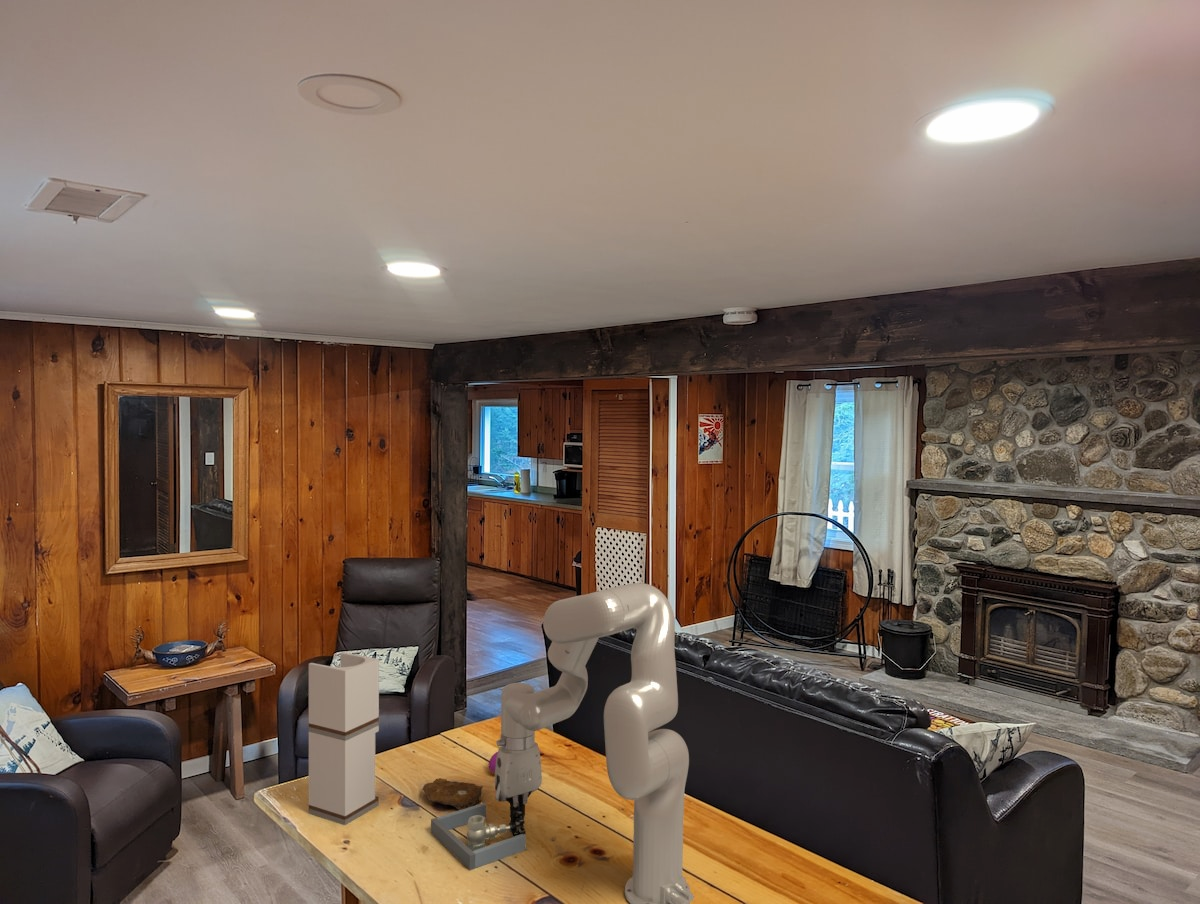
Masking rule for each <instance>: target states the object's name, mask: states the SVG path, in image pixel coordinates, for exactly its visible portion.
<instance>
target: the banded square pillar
mask: <svg viewBox="0 0 1200 904" xmlns="http://www.w3.org/2000/svg"><path fill="white" fill-rule="evenodd" d="M339 663H340V666H339V667H337V666H330V665H326V664H325V665H324V664H320V663H314V662H310V663H308V814H309V815H313V816H315V817H319V818H322V819H325V820H328V821H331V822H333V823H338V824H340V825H344V826H347V825H348V824H349V823H352V822H353V821H355V820H356V819H358V818H359V817H360V818H361V817H362V816H364V815H365V814H366V813H369V811H371V810H373V809H375V808H377V807H378V806H379V801H380V800H379V799H380V797H379V796H376V733H378V732H379V730H380V725H379V724H380V723H379V722H380V718H379V717H380V714H379V713H380V709H379V707H380V705H379V704H380V703H379V702H380V699H379V698H380V658H375V657H372V656H371V657H370V656H364V655H360V654H354V653H348V652H341V653H340V661H339Z"/></svg>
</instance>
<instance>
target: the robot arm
mask: <svg viewBox="0 0 1200 904" xmlns="http://www.w3.org/2000/svg"><path fill="white" fill-rule="evenodd" d="M674 615H675V614H674V612H673V608H672V605H671V603H670V601H669V599H668V598H667V597H666V595H665V594H664V593H663V592H662V591H661V590H660V589H659V588H657V587H656V586H653V585H651V584H648V583H644V582H635V583H627V584H623V585H620V586H615V587H610V588H607V589H602V590H599V591H595V592H590V593H587V594H582V595H576V596H572V597H567V598H563V599H559V600H556V601H554V602H553V603H552V604H550V605H549V606H548V608H547V609H546V611H545V613H544V615H543V621H542V622H543V623H542V624H543V625H542V626H543V630H544V632H545V633H544V634H545V635H546V636H547V638H548V639H549V640H550V641H551V643H550V646H549V647H548V651H547V657H548V660H549V662H550V663H551V664H552V666H553V667H554V668H556V669H557V671H560V672H561V675H560V676H559V679H558V681H557V683H556V684H555V685H554V686H551V687H548V688H546V689H541V690H539V691H535V688H534V686H533V685H531V684H529V683H526V682H512V683H508V684H506V685H505V686H504V687H503V688H502V690H501V693H500V694H501V695H500V697H501V700H500V703H501V706H500V717H501V718H500V729H501V730H500V738H499V739H498V740H496V743H495V745H496V746H497V747H498V750H497V752H498V754H497V759H496V767H495V775H494V790H495V791H496V794H495V800H496V801H498V802H503V803H504V802H507V803H508V804H509V818H510V819H511V818H512V817H515V816H516V814H514V811H515V810H519V811H520V810H521V811H522V818H524V819H525V816H526V805H527V803H528V799H529V798H530V796H531V794H532V793H534V792H535V791H537V790H538V789H539V788H541V786H542V782H543V778H542V777H543V774H542V773H543V771H542V760H541V759H542V758H541V754H540V747H539V745H538V743H537V742H536V738H535V737H536V735H535V734H536V732H537V731H540V730H543V729H545V728H548V727H550V726H552V725H555V724H556V723H560V722H562V721H565V720H567V719H569V718H570V717H572V716H573V715H574V714H575V712H577V710H578V708H579V707H580V705H581V702H582V701H583V700H584V699H583V698H584V697H585V695H586V693H587V690H588V684H589V683H588V681H589V676H588V671H587V667H586V665H587V663H588V661H589V659H590V657H591V655H592V653H593V650H594V649H595V647H596V645H597V642H598V640H599V638H604V637H608V636H612V635H615V634H618V633H621V632H625V631H628V630H630V629H635V630H636V634H635V636H634V639H633V642H632V645H631V651H630V662H631V678H630V682H627V683H624V684H623V685H620V686H618V687H617V688H615V689H613V691H612V692H611V693H610V694H609V695H608V697H607V699H606V702H605V705H604V708H603V726H604V727H603V729H604V743H605V761H606V762H605V763H606V770H607V776H608V779H609V782H610V784H611V787H612V788H613V790H614V792H616V794H618V796H620V797H622V799H624V800H629V801H631V800H632V801H633V805H634V806H633V835H632V836H633V839H632V840H633V841H632V842H633V844H632V845H633V846H632V847H633V851H632V855H633V857H632V877H630V878H629V879H628V880H627V881H626V883H625V886H624V896H625V899H626V900H627V901H628V903H630V904H690V902H692V901H694V899H695V895H694V894H693V893H692V892H691V888H690V886H689V884H688V883H687V879H686V877H684V876H683V868H684V867H683V862H684V861H683V858H684V857H683V852H684V851H683V849H684V848H683V847H684V811H685V810H684V807H685V806H684V804H685V788H686V783H687V778H688V772H689V766H690V755H689V749H688V746H687V744H686V742H685V740H684V738H683V737H682V736H681V735H680V734H679V732H676V731H675V730H672V729H668V728H661V727H662V726H664V725H666V724H668V723H669V722H671V721H673V720H674V718H675V717H676V716H677V713H678V708H679V693H678V683H677V682H678V681H677V680H678V678H677V664H676V663H677V662H676V653H675V648H676V647H675V642H676V641H675V638H676V636H675V635H676V634H675V633H676V632H675V631H676V630H675V629H676V626H675V623H676V622H675V616H674ZM518 822H519V820H518Z"/></svg>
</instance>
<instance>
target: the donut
mask: <svg viewBox="0 0 1200 904" xmlns="http://www.w3.org/2000/svg"><path fill="white" fill-rule="evenodd" d="M497 754H498V751H496V752H495V753H493V754H492V755H491V757H490V759H489V762H488V769H489V770H490V772H491V774H492V775H493V776H495V767H496V759H497Z"/></svg>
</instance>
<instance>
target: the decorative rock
mask: <svg viewBox="0 0 1200 904" xmlns="http://www.w3.org/2000/svg"><path fill="white" fill-rule="evenodd" d="M482 789H483V785H477V784H475V783H470V782H465V781H462V782H461V781H459V782H458V781H450V780H448V779H447V778H441V777H440V778H436V779H435V780H433V782H427V783H425V784H424V785H423V787H422V789H421V790H422V791H423V792H424V794H425V796H426V797H427V799H428V801H429V802H433V803H434V802H435V803H439V804H440V805H445V806H447V805H449V806H452V807H454V808H456V809H457V811H459V810H462V809H465V808H469V807H472V806H475V805H478V804H480V803H479V802H480V801H479V799H480V798H481V796H482V795H483V792H482Z"/></svg>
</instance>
